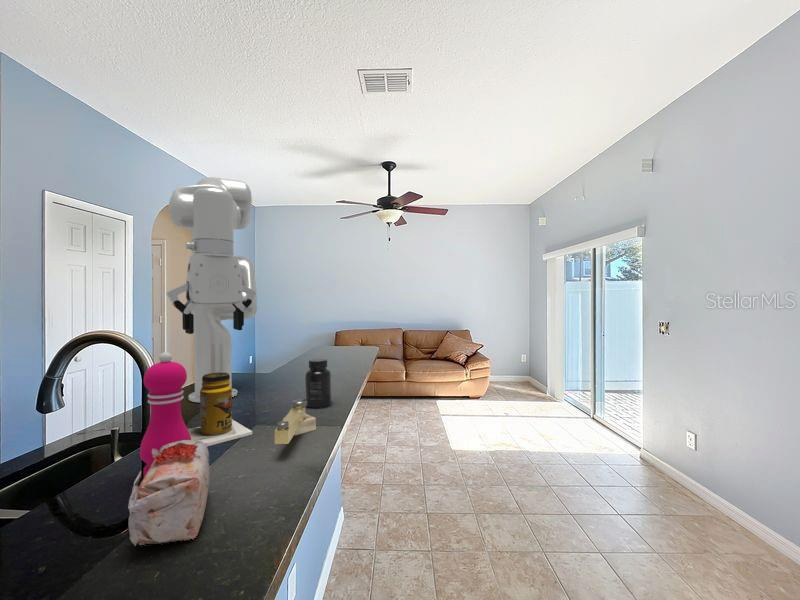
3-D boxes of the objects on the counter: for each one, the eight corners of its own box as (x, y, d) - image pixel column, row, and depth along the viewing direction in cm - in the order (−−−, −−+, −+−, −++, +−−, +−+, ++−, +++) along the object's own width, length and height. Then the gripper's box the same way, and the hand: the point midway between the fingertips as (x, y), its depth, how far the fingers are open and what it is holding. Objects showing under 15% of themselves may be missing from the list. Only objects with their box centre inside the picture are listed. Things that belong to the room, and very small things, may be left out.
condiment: (236, 433, 78) (235, 375, 78) (189, 441, 74) (189, 380, 74) (231, 423, 85) (230, 369, 84) (187, 430, 80) (187, 374, 80)
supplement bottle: (336, 403, 102) (336, 359, 102) (318, 410, 96) (318, 363, 96) (318, 400, 105) (318, 357, 105) (299, 406, 100) (299, 360, 99)
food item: (205, 544, 45) (204, 461, 44) (123, 563, 41) (122, 474, 41) (212, 489, 57) (211, 424, 57) (149, 501, 54) (149, 432, 54)
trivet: (178, 434, 80) (178, 431, 80) (232, 421, 87) (232, 419, 87) (195, 449, 72) (195, 446, 72) (252, 434, 79) (252, 431, 79)
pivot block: (283, 429, 82) (283, 418, 82) (304, 423, 86) (303, 412, 86) (295, 435, 79) (295, 423, 79) (316, 429, 82) (315, 418, 82)
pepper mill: (201, 468, 64) (200, 350, 64) (162, 488, 57) (161, 356, 57) (170, 461, 66) (169, 348, 66) (128, 481, 60) (127, 354, 59)
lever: (272, 444, 67) (272, 425, 67) (293, 414, 84) (293, 399, 84) (290, 443, 67) (290, 424, 67) (308, 414, 84) (308, 398, 84)
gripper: (172, 245, 70) (173, 337, 71) (261, 251, 82) (262, 329, 83) (161, 247, 76) (162, 333, 76) (247, 253, 88) (247, 326, 89)
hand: (214, 331), depth 80 cm, fingers open, 9 cm apart
